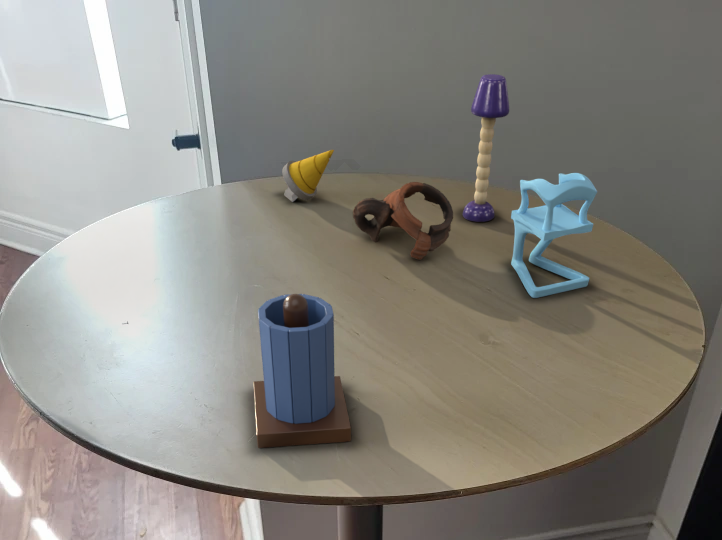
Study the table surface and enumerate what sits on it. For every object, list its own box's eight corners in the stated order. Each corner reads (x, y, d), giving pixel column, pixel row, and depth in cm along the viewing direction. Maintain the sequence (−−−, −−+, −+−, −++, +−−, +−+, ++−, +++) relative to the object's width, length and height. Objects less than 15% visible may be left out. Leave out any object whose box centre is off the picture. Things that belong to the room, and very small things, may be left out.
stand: (258, 448, 66) (245, 323, 58) (254, 394, 72) (242, 274, 64) (351, 441, 67) (351, 318, 59) (340, 388, 73) (339, 269, 65)
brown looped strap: (421, 225, 102) (450, 179, 95) (435, 284, 98) (467, 241, 92) (336, 212, 96) (361, 162, 90) (349, 274, 93) (375, 228, 86)
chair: (547, 256, 95) (566, 154, 87) (589, 286, 89) (614, 180, 81) (494, 267, 92) (508, 163, 84) (533, 298, 87) (552, 191, 79)
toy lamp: (453, 212, 104) (466, 74, 93) (480, 205, 106) (496, 69, 94) (475, 225, 101) (491, 84, 90) (503, 217, 103) (522, 79, 92)
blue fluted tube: (267, 426, 66) (259, 333, 60) (264, 386, 70) (256, 295, 64) (337, 421, 67) (336, 328, 61) (330, 381, 71) (328, 292, 65)
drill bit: (296, 189, 110) (345, 144, 104) (300, 218, 108) (351, 175, 102) (267, 170, 106) (316, 123, 100) (270, 201, 104) (321, 155, 98)
